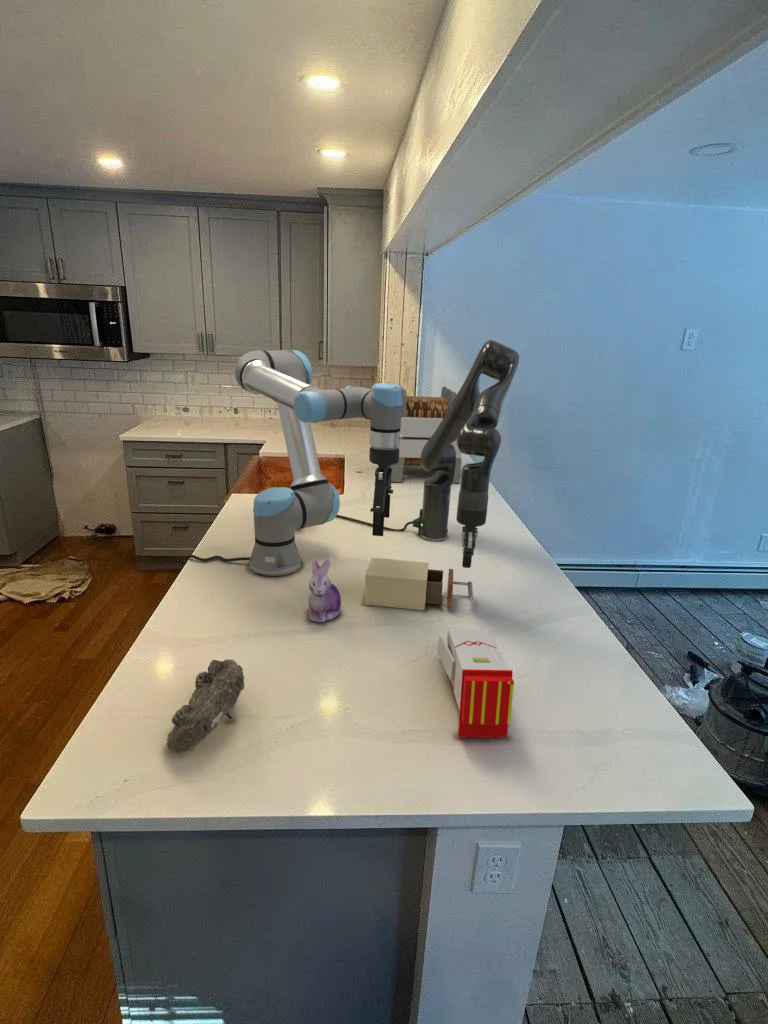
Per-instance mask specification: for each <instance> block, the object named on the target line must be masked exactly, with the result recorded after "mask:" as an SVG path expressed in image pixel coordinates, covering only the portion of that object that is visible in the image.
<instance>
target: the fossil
mask: <svg viewBox="0 0 768 1024" xmlns="http://www.w3.org/2000/svg"><path fill="white" fill-rule="evenodd" d="M243 670H244V669H243V667H242V665H240V664H237V662H236V661H235V660H234V659H232V658H231V659H227V658H226V659H224V660H223V661H222V660H217V659H212V660H211V661H210V663H209V665H208V666H207V671H201V672H199V673H198V674H197V675H196V676H195V680H194V684H195V685H194V687H195V689H194V690H193V693H192V694H191V697H190V698H189V700H188V704H184V705H182V706H181V707H180V709H177V710H176V711H175V713H174V715H173V716H172V718H171V723H172V724H173V727H172V730H171V731H170V732H168V734H167V738H166V741H167V742H166V745H167V749H168V750H169V751H173V752H174V753H176V754H178V753H182V752H188V751H189V752H192V751H193V750H195V748H196V747H197V746H199V744H200V743H201V742H203V741H204V740H205V739H206V738H207V737H208V736H209V735H210V734H211V733H212V732H214V730H215V729H217V727H218V726H219V724H220V722H221V721H222V720H223V719H224V718H225V716H226V717H227V719H229V720H233V717H232V715H230V714H229V710H230V709H231V708H234V706H235V704H236V703H237V702H238V699H239V697H240V695H241V693H242V691H243V690H245V689H244V688H245V675H244V671H243Z"/></svg>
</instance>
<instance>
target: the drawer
mask: <svg viewBox="0 0 768 1024" xmlns="http://www.w3.org/2000/svg"><path fill="white" fill-rule="evenodd" d="M443 579H444V570H442V569H432V568H431V569H429V568H428V576H427V586H426V599H425V604H432V605H442V597H443V583H444V582H443ZM454 585H459V586H467V595H462V594H453V593H454V592H453V591H454ZM453 598H454V599H465V600H468V601H470V602H472V601H473V600H474V589H473V582H472V581H469V580H468V582H463V581H454V569H453V568H448V575H447V586H446V608H445V609H452V602H453Z"/></svg>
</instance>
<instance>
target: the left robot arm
mask: <svg viewBox="0 0 768 1024" xmlns="http://www.w3.org/2000/svg"><path fill="white" fill-rule="evenodd" d="M234 376H235V377H234V378H235V381H236V382H237V384H238V385H239V387H240V388H242V389H243V390H244V391H246V392H248V393H250V394H253V395H263V396H264V397H267V398H269V399H271V400H272V401H274V402H275V403H276V405H277V409H278V410H277V411H278V414H279V419H280V423H281V428H282V432H283V437H284V441H285V446H286V451H287V455H288V460H289V465H290V469H291V473H292V479H293V480H292V482H291V484H290V485H289V487H285V486H280V487H277V486H275V487H270V488H266V489H264V490H262V491H260V492H258V493H257V494H256V495H255V496H254V499H253V507H252V513H253V529H254V545H253V548H252V550H251V553H250V556H249V557H248V556H247V557H243V556H242V557H231V558H225V557H223V556H221V555H214V556H210V557H205V558H204V557H200V556H197V555H196V554H189V555H187V556H186V557H185V558H184V560H190V559H195V560H197V561H200V562H209V561H213V560H217V559H218V560H220V561H221V562H238V561H249V570H250V571H251V572H253V573H254V574H257V575H259V576H263V577H283V576H287V575H291V574H293V573H295V572H297V571H299V569H300V568H301V566H302V558H301V555H300V553H299V549H298V547H297V544H296V541H295V540H296V539H295V537H296V536H295V535H296V534H295V531H299V530H303V529H306V528H310V527H315V526H320V525H324V524H326V523H330V522H332V521H334V520H335V519H336V518H337V517H336V516H337V515H338V513H339V511H340V507H341V505H340V504H341V499H340V494H339V491H338V489H336V487H335V486H334V485H333V484H330V483H329V480H328V477H326V476H324V475H323V474H322V471H321V467H320V463H319V456H318V451H317V448H316V444H315V443H316V442H315V438H314V434H313V430H312V425H311V423H312V424H316V423H322V422H329V421H338V420H349V419H357V418H359V419H365V420H369V421H370V429H369V446H370V448H369V455H368V456H369V458H368V459H369V462H370V463H371V464H373V465H377V467H376V469H375V471H374V476H375V478H374V490H373V501H372V507H371V508H370V509H369V510H370V512H371V513H372V524H373V526H372V536H374V537H384V530H385V529H384V527H385V519H386V518H387V519H388V518H390V514H391V513H390V509H391V495H393V494H394V489H392V482H391V475H392V469H391V465H395V464H397V463H398V462H399V451H400V450H399V448H398V447H399V446H400V439H402V438H403V436H402V435H399V434H400V430H401V413H402V404H403V401H402V388H403V387H402V386H401V385H400V386H401V387H402V388H401V387H400V386H399V384H396V383H387V382H380V383H374V384H373V385H372V386H371V388H367V387H363V386H361V385H347V386H345V387H343V388H332V389H322V388H319V387H316V386H314V385H312V382H313V376H314V375H313V368H312V365H311V362H310V360H309V358H308V357H307V355H305V354H304V353H303V352H302V351H299V350H293V349H276V350H274V349H273V350H269V349H268V350H251V351H248V352H246V353H244V354H243V355H242V356H241V357H240V358H239V359H238V360H237V362H236V364H235V368H234ZM298 529H299V530H298Z"/></svg>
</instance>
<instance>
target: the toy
mask: <svg viewBox="0 0 768 1024" xmlns="http://www.w3.org/2000/svg"><path fill="white" fill-rule="evenodd" d="M446 640H447V643H446V641H445V639H444V636H443V635H442V634H439V637H438V646H437V656H438V657H439V659H440V661H441V663H442V666H443V668H444V670H445V672H446V674H447V677H448V679H449V681H450V684H451V687H452V690H453V693H454V697H455V701H456V705H457V708H458V711H459V714H458V715H459V716H458V730H457V731H458V732H457V737H458V738H508V731H509V726H510V725H511V717H512V707H513V697H514V696H513V695H514V684H515V680H514V679H513V673H514V671H513V670H512V669H508V667H507V665H506V662H505V661H504V659H503V658H502V655H501V653H500V651H499V649H498V647H497V643H496V639H495V637H494V635H493V634H491V632H490V631H489V629H467V628H466V629H465V628H463V629H461V628H460V629H459V628H448V630H447V639H446Z"/></svg>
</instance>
